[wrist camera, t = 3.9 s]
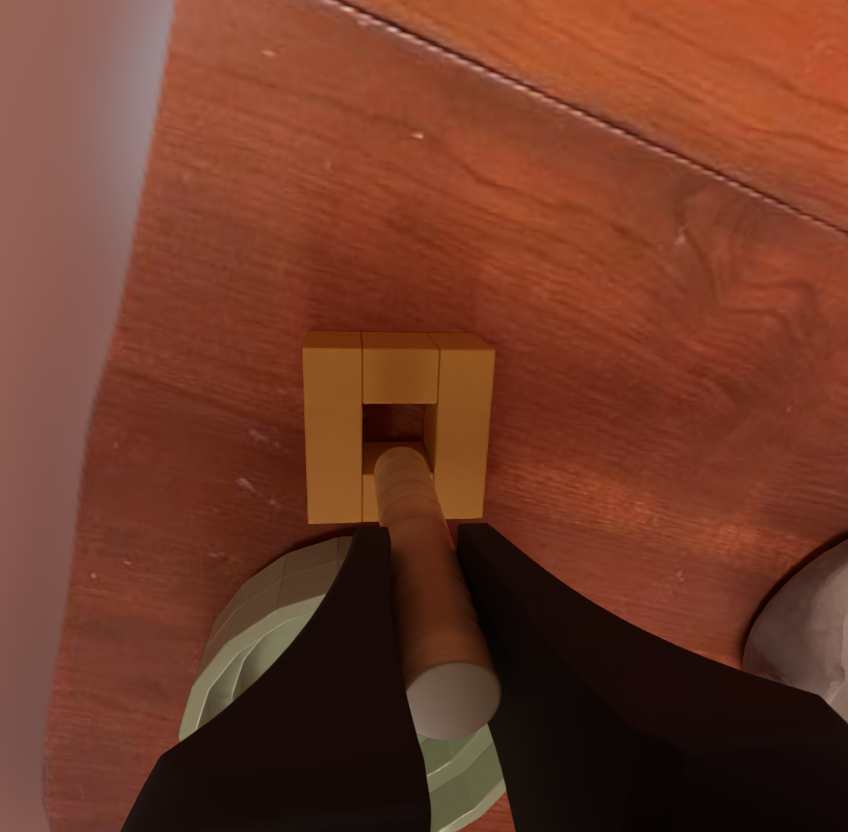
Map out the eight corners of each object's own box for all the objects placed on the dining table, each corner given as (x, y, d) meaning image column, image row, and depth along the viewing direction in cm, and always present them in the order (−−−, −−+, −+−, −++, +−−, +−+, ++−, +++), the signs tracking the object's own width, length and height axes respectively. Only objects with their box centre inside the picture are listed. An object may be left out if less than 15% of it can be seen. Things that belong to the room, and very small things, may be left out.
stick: (373, 495, 16) (398, 746, 8) (373, 446, 16) (399, 664, 8) (426, 494, 17) (498, 737, 9) (428, 445, 16) (507, 656, 8)
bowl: (221, 783, 25) (198, 880, 21) (193, 532, 21) (159, 598, 17) (498, 757, 27) (522, 842, 23) (523, 521, 23) (558, 578, 19)
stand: (313, 485, 21) (307, 524, 18) (308, 330, 19) (301, 347, 16) (465, 481, 22) (482, 519, 19) (475, 332, 20) (496, 349, 17)
